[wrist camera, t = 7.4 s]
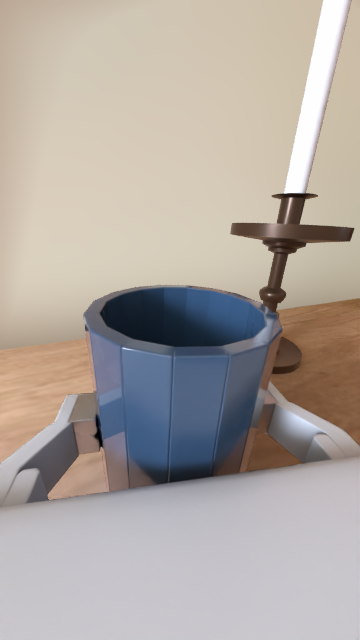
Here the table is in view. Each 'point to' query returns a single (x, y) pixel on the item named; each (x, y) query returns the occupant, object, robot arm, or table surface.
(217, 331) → the cup
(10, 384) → the table surface
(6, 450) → the table surface
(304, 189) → the candlestick
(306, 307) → the table surface
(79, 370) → the table surface
